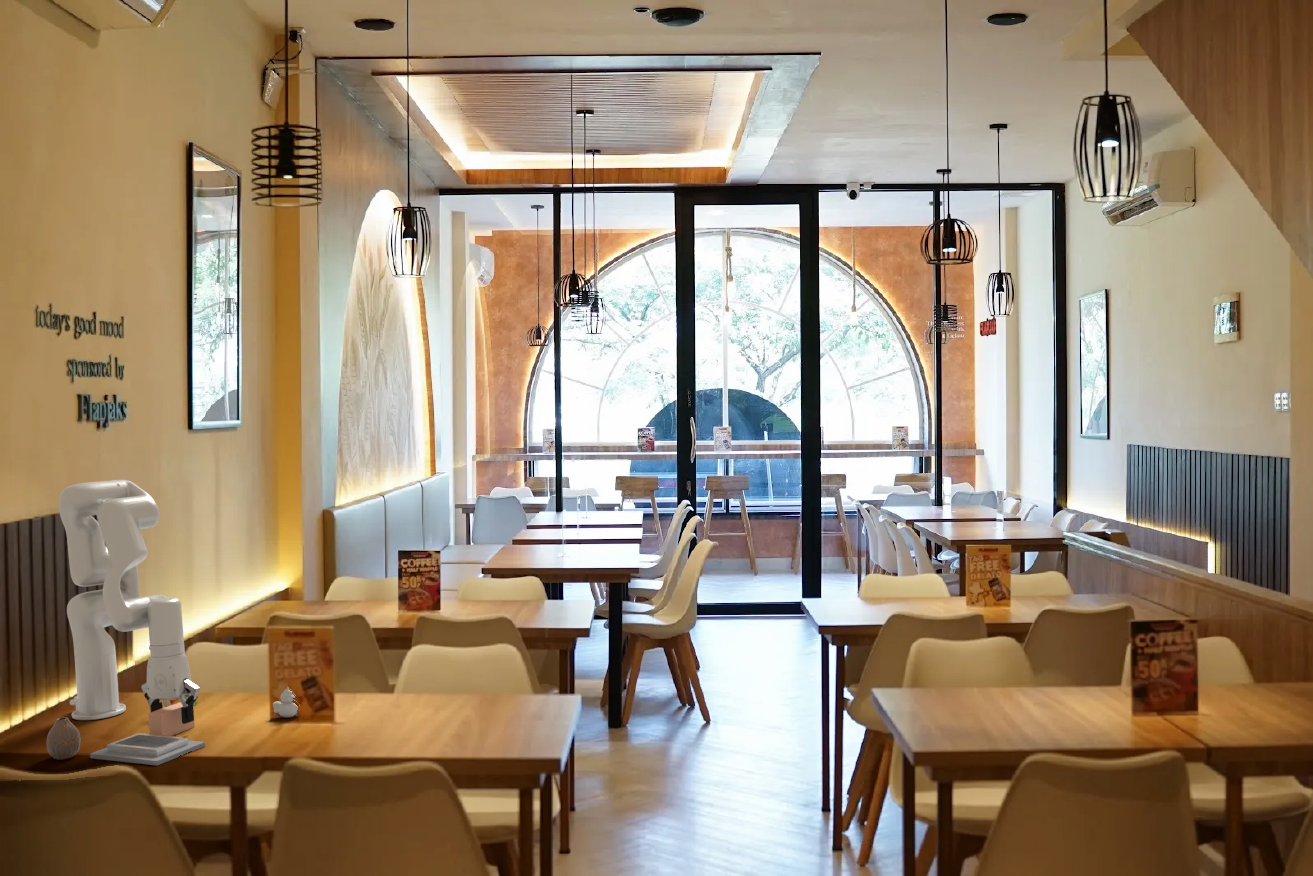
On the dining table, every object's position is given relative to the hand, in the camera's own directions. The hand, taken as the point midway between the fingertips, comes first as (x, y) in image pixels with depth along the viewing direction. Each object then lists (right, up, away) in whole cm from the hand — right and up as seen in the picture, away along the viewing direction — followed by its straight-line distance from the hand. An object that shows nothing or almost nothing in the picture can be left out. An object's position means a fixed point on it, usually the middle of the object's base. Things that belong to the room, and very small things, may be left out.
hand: (172, 721), depth 281 cm
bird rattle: (-6, -3, +18) cm, 19 cm away
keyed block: (0, -3, 0) cm, 3 cm away
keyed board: (+1, -3, -15) cm, 16 cm away
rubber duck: (+24, -1, +9) cm, 26 cm away
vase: (-18, -5, -16) cm, 24 cm away
